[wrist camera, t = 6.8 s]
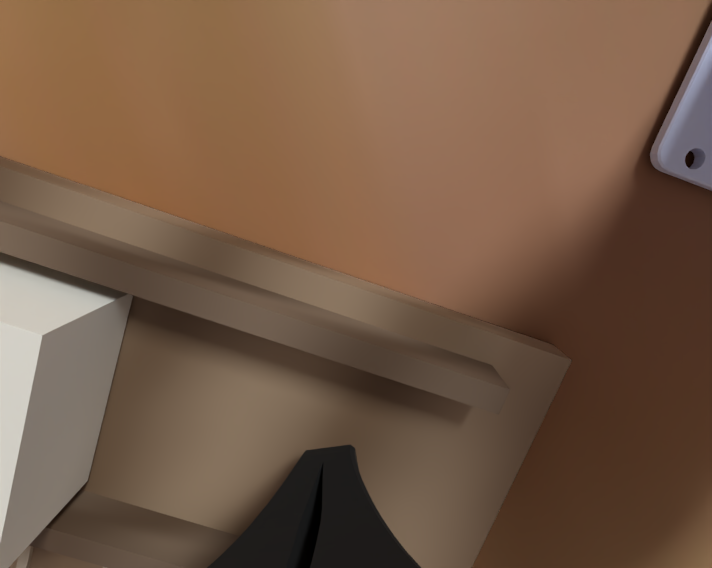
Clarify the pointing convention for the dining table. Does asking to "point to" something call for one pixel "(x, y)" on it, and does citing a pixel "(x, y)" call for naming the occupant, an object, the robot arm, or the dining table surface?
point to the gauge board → (270, 388)
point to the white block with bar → (50, 390)
